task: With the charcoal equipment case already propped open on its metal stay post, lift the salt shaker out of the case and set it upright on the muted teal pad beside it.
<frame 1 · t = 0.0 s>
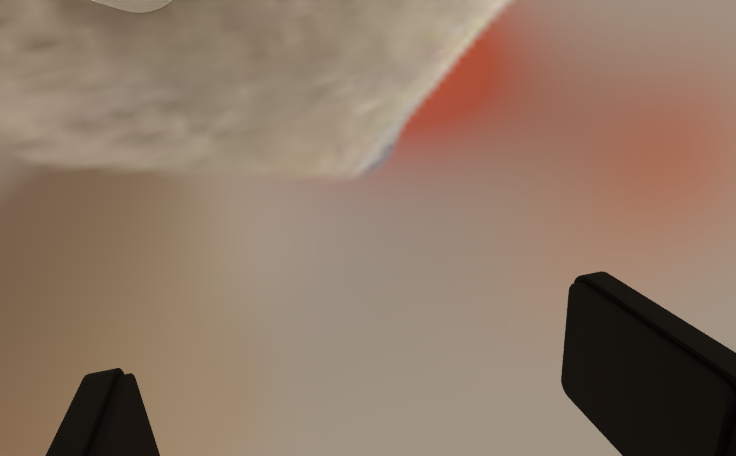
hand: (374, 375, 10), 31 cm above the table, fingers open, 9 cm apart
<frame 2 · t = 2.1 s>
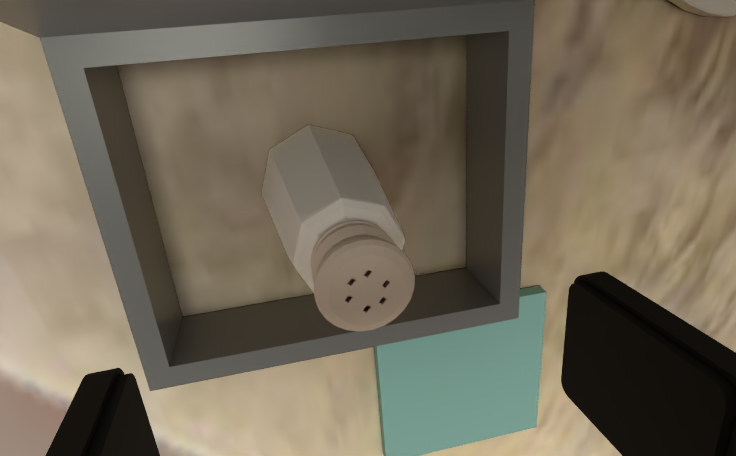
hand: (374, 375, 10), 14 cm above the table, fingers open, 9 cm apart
pad: (458, 372, 29), on the table
case: (318, 181, 23), on the table
salt shaker: (317, 179, 23), resting in case
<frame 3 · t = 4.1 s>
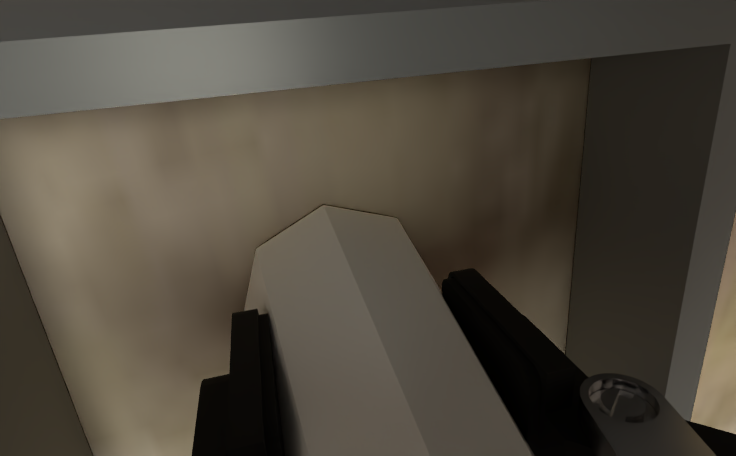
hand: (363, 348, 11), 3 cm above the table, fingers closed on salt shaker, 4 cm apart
case: (340, 293, 14), on the table
salt shaker: (337, 289, 14), resting in case, touching gripper
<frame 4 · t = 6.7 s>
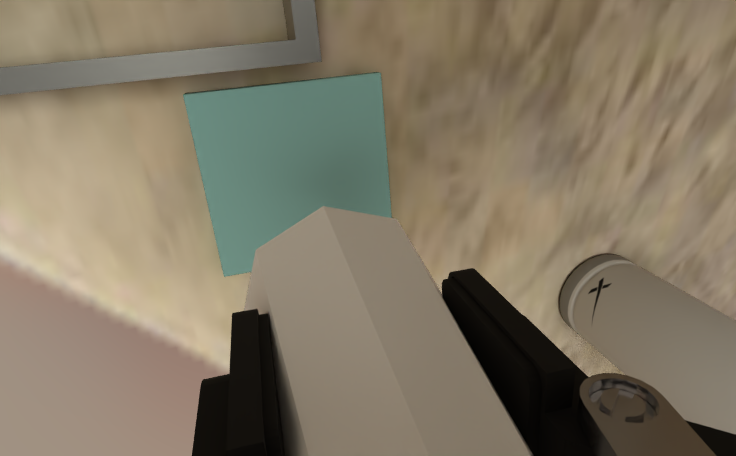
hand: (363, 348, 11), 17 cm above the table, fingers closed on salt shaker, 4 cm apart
pad: (298, 174, 27), on the table
travel mug: (592, 291, 35), on the table
salt shaker: (337, 290, 14), point 14 cm above the table, touching gripper
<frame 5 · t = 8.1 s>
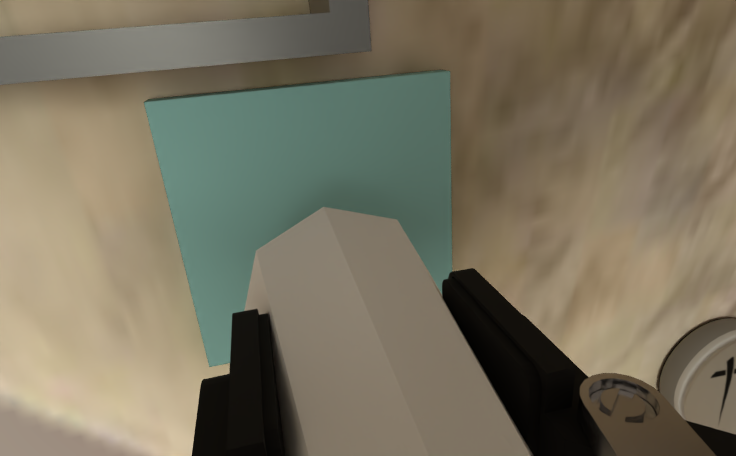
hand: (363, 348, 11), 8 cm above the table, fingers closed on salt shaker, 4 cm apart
pad: (320, 219, 18), on the table
travel mug: (699, 364, 27), on the table
salt shaker: (337, 290, 14), point 5 cm above the table, touching gripper
when the fingers open (5 cm above the table, at t = 9.3 s): salt shaker drops 1 cm, resting on pad.
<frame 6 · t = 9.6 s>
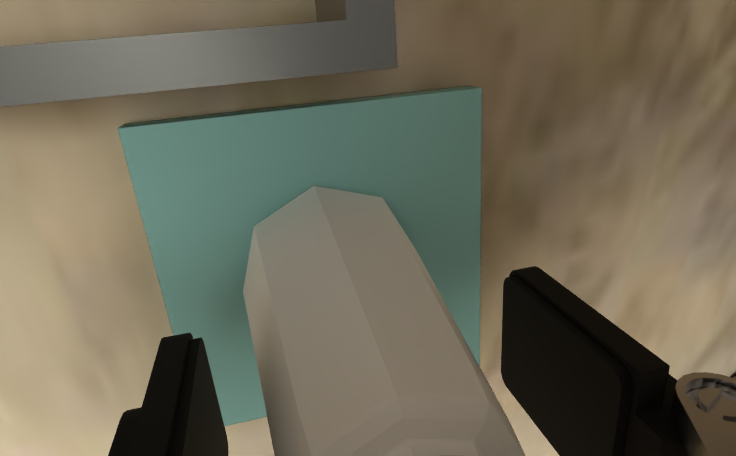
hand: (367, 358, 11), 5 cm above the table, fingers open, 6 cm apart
pad: (328, 259, 16), on the table
salt shaker: (329, 264, 15), point 1 cm above the table, touching pad
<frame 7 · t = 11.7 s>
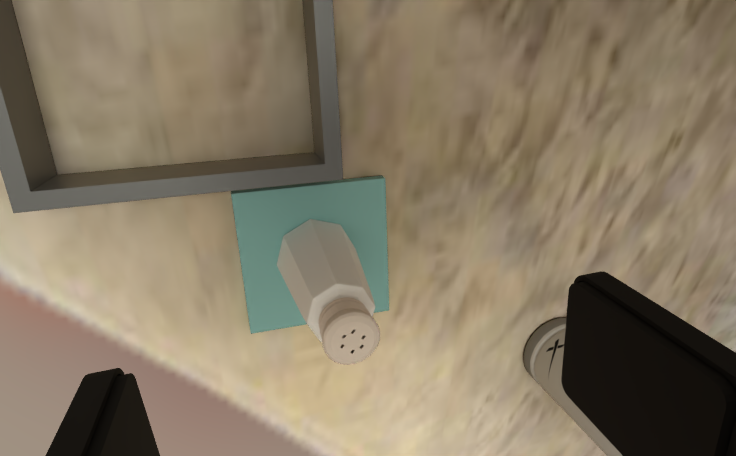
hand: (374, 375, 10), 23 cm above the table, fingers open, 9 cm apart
pad: (315, 252, 33), on the table
case: (176, 59, 27), on the table
travel mug: (551, 347, 42), on the table
salt shaker: (315, 254, 33), point 1 cm above the table, touching pad
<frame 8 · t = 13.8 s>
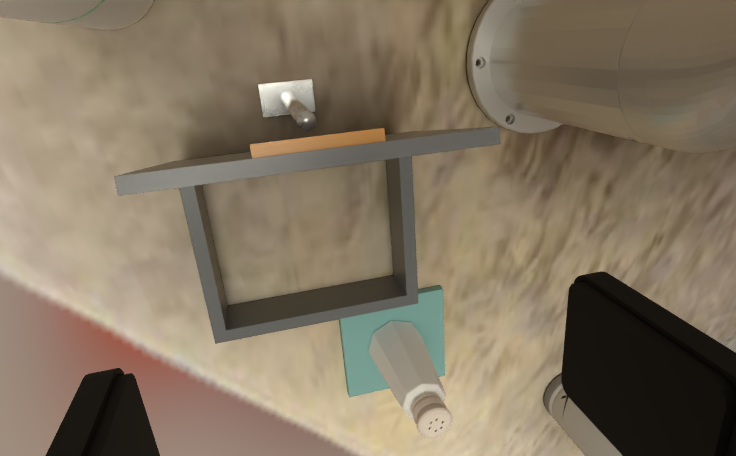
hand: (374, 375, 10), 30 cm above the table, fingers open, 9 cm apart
pad: (392, 339, 47), on the table
lid: (306, 149, 28), point 11 cm above the table, hinge at 100.0°, touching case
case: (304, 227, 41), on the table
stay post: (286, 97, 37), on the table
travel mug: (564, 391, 55), on the table
salt shaker: (394, 342, 46), point 1 cm above the table, touching pad
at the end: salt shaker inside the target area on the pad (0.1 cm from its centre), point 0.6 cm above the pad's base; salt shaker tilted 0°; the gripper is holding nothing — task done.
